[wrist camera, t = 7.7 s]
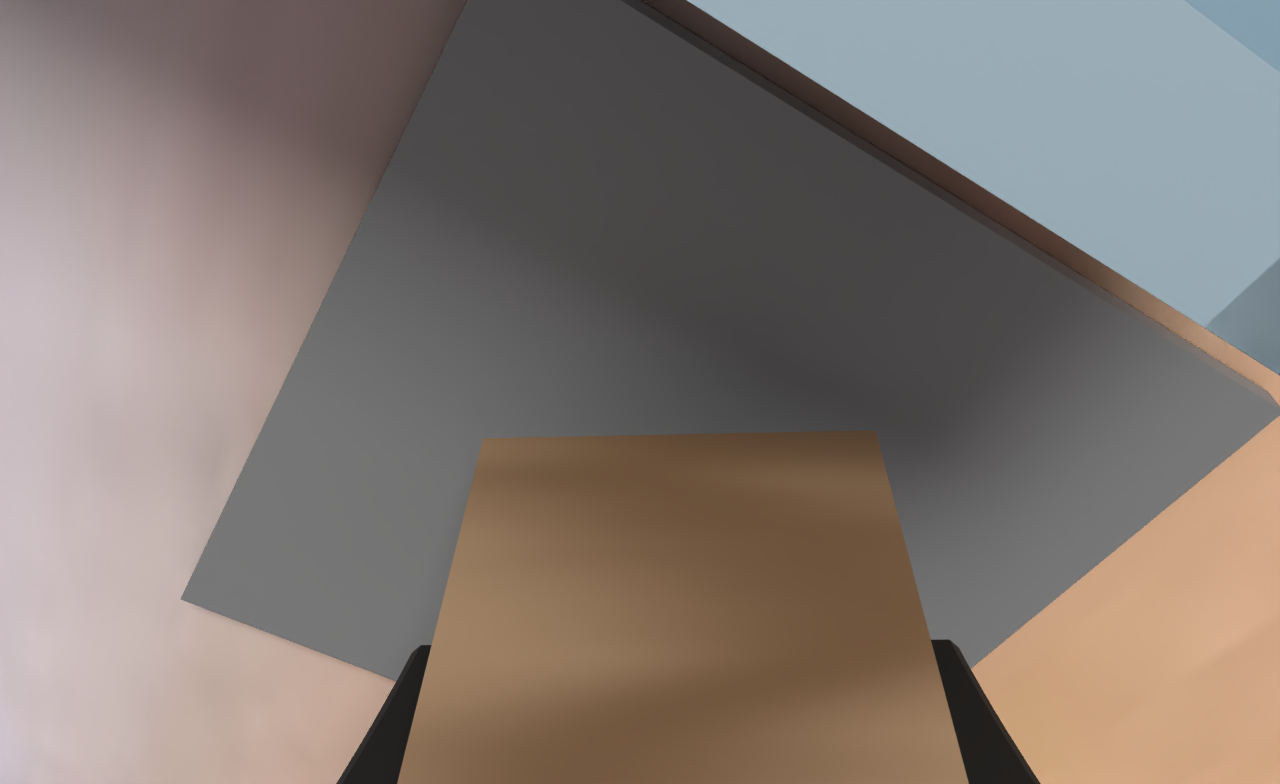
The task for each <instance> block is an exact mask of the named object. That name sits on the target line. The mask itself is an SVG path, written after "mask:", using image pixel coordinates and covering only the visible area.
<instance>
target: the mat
mask: <svg viewBox="0 0 1280 784" xmlns="http://www.w3.org/2000/svg"><path fill="white" fill-rule="evenodd" d="M1279 415H1280V406H1279V405H1278V403H1277V402H1276V401H1275V400H1274V398H1273V397H1272V396H1271V395H1270V394H1269V392H1268V391H1266V390H1265V389H1263V388H1262V387H1260V386H1258V385H1257V384H1255V383H1254V382H1252V381H1250V380H1249V379H1247V378H1246V377H1244V376H1242V375H1241V374H1239V373H1237V372H1236V371H1234V370H1233V369H1231V368H1229V367H1228V366H1226V365H1225V364H1223V363H1221V362H1220V361H1218V360H1217V359H1215V358H1213V357H1212V356H1210V355H1209V354H1207V353H1205V352H1204V351H1202V350H1201V349H1199V348H1197V347H1196V346H1194V345H1193V344H1191V343H1189V342H1188V341H1186V340H1185V339H1183V338H1181V337H1180V336H1178V335H1177V334H1175V333H1173V332H1172V331H1170V330H1169V329H1167V328H1165V327H1164V326H1162V325H1160V324H1159V323H1157V322H1156V321H1154V320H1152V319H1151V318H1149V317H1148V316H1146V315H1144V314H1143V313H1141V312H1140V311H1138V310H1136V309H1135V308H1133V307H1132V306H1130V305H1128V304H1127V303H1125V302H1124V301H1122V300H1120V299H1119V298H1117V297H1116V296H1114V295H1112V294H1111V293H1109V292H1108V291H1106V290H1104V289H1103V288H1101V287H1100V286H1098V285H1096V284H1095V283H1093V282H1091V281H1090V280H1088V279H1087V278H1085V277H1083V276H1082V275H1080V274H1079V273H1077V272H1075V271H1074V270H1072V269H1071V268H1069V267H1067V266H1066V265H1064V264H1063V263H1061V262H1059V261H1058V260H1056V259H1055V258H1053V257H1051V256H1050V255H1048V254H1047V253H1045V252H1043V251H1042V250H1040V249H1039V248H1037V247H1035V246H1034V245H1032V244H1031V243H1029V242H1027V241H1026V240H1024V239H1023V238H1021V237H1019V236H1018V235H1016V234H1014V233H1013V232H1011V231H1010V230H1008V229H1006V228H1005V227H1003V226H1002V225H1000V224H998V223H997V222H995V221H994V220H992V219H990V218H989V217H987V216H986V215H984V214H982V213H981V212H979V211H978V210H976V209H974V208H973V207H971V206H970V205H968V204H966V203H965V202H963V201H962V200H960V199H958V198H957V197H955V196H954V195H952V194H950V193H949V192H947V191H946V190H944V189H942V188H941V187H939V186H937V185H936V184H934V183H933V182H931V181H929V180H928V179H926V178H925V177H923V176H921V175H920V174H918V173H917V172H915V171H913V170H912V169H910V168H909V167H907V166H905V165H904V164H902V163H901V162H899V161H897V160H896V159H894V158H893V157H891V156H889V155H888V154H886V153H885V152H883V151H881V150H880V149H878V148H877V147H875V146H873V145H872V144H870V143H868V142H867V141H865V140H864V139H862V138H860V137H859V136H857V135H856V134H854V133H852V132H851V131H849V130H848V129H846V128H844V127H843V126H841V125H840V124H838V123H836V122H835V121H833V120H832V119H830V118H828V117H827V116H825V115H824V114H822V113H820V112H819V111H817V110H816V109H814V108H812V107H811V106H809V105H808V104H806V103H804V102H803V101H801V100H800V99H798V98H796V97H795V96H793V95H791V94H790V93H788V92H787V91H785V90H783V89H782V88H780V87H779V86H777V85H775V84H774V83H772V82H771V81H769V80H767V79H766V78H764V77H763V76H761V75H759V74H758V73H756V72H755V71H753V70H751V69H750V68H748V67H747V66H745V65H743V64H742V63H740V62H739V61H737V60H735V59H734V58H732V57H731V56H729V55H727V54H726V53H724V52H723V51H721V50H719V49H718V48H716V47H714V46H713V45H711V44H710V43H708V42H706V41H705V40H703V39H702V38H700V37H698V36H697V35H695V34H694V33H692V32H690V31H689V30H687V29H686V28H684V27H682V26H681V25H679V24H678V23H676V22H674V21H673V20H671V19H670V18H668V17H666V16H665V15H663V14H662V13H660V12H658V11H657V10H655V9H654V8H652V7H650V6H649V5H647V4H645V3H644V2H642V1H641V0H467V1H466V4H465V6H464V8H463V10H462V12H461V14H460V16H459V18H458V20H457V22H456V24H455V27H454V29H453V31H452V33H451V35H450V37H449V39H448V41H447V43H446V45H445V47H444V50H443V52H442V54H441V56H440V58H439V60H438V62H437V64H436V66H435V68H434V70H433V73H432V75H431V77H430V79H429V81H428V83H427V85H426V87H425V89H424V91H423V93H422V96H421V98H420V100H419V102H418V104H417V106H416V108H415V110H414V112H413V114H412V116H411V118H410V121H409V123H408V125H407V127H406V129H405V131H404V133H403V135H402V137H401V139H400V141H399V144H398V146H397V148H396V150H395V152H394V154H393V156H392V158H391V160H390V162H389V164H388V167H387V169H386V171H385V173H384V175H383V177H382V179H381V181H380V183H379V185H378V187H377V190H376V192H375V194H374V196H373V198H372V200H371V202H370V204H369V206H368V208H367V210H366V213H365V215H364V217H363V219H362V221H361V223H360V225H359V227H358V229H357V231H356V233H355V236H354V238H353V240H352V242H351V244H350V246H349V248H348V250H347V252H346V254H345V256H344V259H343V261H342V263H341V265H340V267H339V269H338V271H337V273H336V275H335V277H334V279H333V282H332V284H331V286H330V288H329V290H328V292H327V294H326V296H325V298H324V300H323V302H322V304H321V307H320V309H319V311H318V313H317V315H316V317H315V319H314V321H313V323H312V325H311V327H310V330H309V332H308V334H307V336H306V338H305V340H304V342H303V344H302V346H301V348H300V350H299V353H298V355H297V357H296V359H295V361H294V363H293V365H292V367H291V369H290V371H289V373H288V376H287V378H286V380H285V382H284V384H283V386H282V388H281V390H280V392H279V394H278V396H277V399H276V401H275V403H274V405H273V407H272V409H271V411H270V413H269V415H268V417H267V419H266V422H265V424H264V426H263V428H262V430H261V432H260V434H259V436H258V438H257V440H256V442H255V445H254V447H253V449H252V451H251V453H250V455H249V457H248V459H247V461H246V463H245V465H244V468H243V470H242V472H241V474H240V476H239V478H238V480H237V482H236V484H235V486H234V488H233V490H232V493H231V495H230V497H229V499H228V501H227V503H226V505H225V507H224V509H223V511H222V513H221V516H220V518H219V520H218V522H217V524H216V526H215V528H214V530H213V532H212V534H211V536H210V539H209V541H208V543H207V545H206V547H205V549H204V551H203V553H202V555H201V557H200V559H199V562H198V564H197V566H196V568H195V570H194V572H193V574H192V576H191V578H190V580H189V582H188V585H187V587H186V589H185V591H184V593H183V595H182V597H181V600H184V601H186V602H189V603H192V604H194V605H197V606H200V607H202V608H205V609H207V610H210V611H213V612H215V613H218V614H221V615H223V616H226V617H229V618H231V619H234V620H236V621H239V622H242V623H244V624H247V625H250V626H252V627H255V628H258V629H260V630H263V631H265V632H268V633H271V634H273V635H276V636H279V637H281V638H284V639H286V640H289V641H292V642H294V643H297V644H300V645H302V646H305V647H308V648H310V649H313V650H315V651H318V652H321V653H323V654H326V655H329V656H331V657H334V658H337V659H339V660H342V661H344V662H347V663H350V664H352V665H355V666H358V667H360V668H363V669H366V670H368V671H371V672H373V673H376V674H379V675H381V676H384V677H387V678H389V679H392V680H395V681H397V679H398V678H399V676H400V674H401V672H402V670H403V668H404V666H405V664H406V663H407V661H408V659H409V657H410V655H411V653H412V652H413V651H414V650H416V649H417V648H418V647H419V646H420V645H432V642H433V638H434V634H435V630H436V626H437V621H438V617H439V613H440V609H441V605H442V601H443V597H444V593H445V589H446V585H447V581H448V577H449V573H450V569H451V565H452V561H453V557H454V553H455V549H456V545H457V541H458V537H459V533H460V529H461V525H462V521H463V517H464V513H465V509H466V505H467V501H468V497H469V493H470V489H471V485H472V481H473V477H474V473H475V468H476V464H477V460H478V456H479V452H480V448H481V444H482V440H483V438H525V437H573V436H621V435H670V434H718V433H766V432H815V431H863V430H876V434H877V438H878V442H879V445H880V449H881V453H882V457H883V461H884V464H885V468H886V472H887V476H888V479H889V483H890V487H891V491H892V495H893V498H894V502H895V506H896V510H897V514H898V517H899V521H900V525H901V529H902V533H903V536H904V540H905V544H906V548H907V551H908V555H909V559H910V563H911V567H912V570H913V574H914V578H915V582H916V586H917V589H918V593H919V597H920V601H921V605H922V608H923V612H924V616H925V620H926V623H927V627H928V631H929V635H930V639H931V640H945V639H950V640H951V641H952V642H953V643H954V644H955V645H957V646H958V647H959V649H960V650H961V652H962V654H963V656H964V658H965V660H966V662H967V663H968V665H969V667H970V669H971V668H972V667H973V666H975V665H976V664H977V663H978V662H979V661H981V660H982V659H983V658H984V657H986V656H987V655H988V654H989V653H990V652H992V651H993V650H994V649H995V648H997V647H998V646H999V645H1000V644H1001V643H1003V642H1004V641H1005V640H1006V639H1007V638H1009V637H1010V636H1011V635H1012V634H1014V633H1015V632H1016V631H1017V630H1018V629H1020V628H1021V627H1022V626H1023V625H1025V624H1026V623H1027V622H1028V621H1029V620H1031V619H1032V618H1033V617H1034V616H1036V615H1037V614H1038V613H1039V612H1040V611H1042V610H1043V609H1044V608H1045V607H1047V606H1048V605H1049V604H1050V603H1051V602H1053V601H1054V600H1055V599H1056V598H1057V597H1059V596H1060V595H1061V594H1062V593H1064V592H1065V591H1066V590H1067V589H1068V588H1070V587H1071V586H1072V585H1073V584H1075V583H1076V582H1077V581H1078V580H1079V579H1081V578H1082V577H1083V576H1084V575H1086V574H1087V573H1088V572H1089V571H1090V570H1092V569H1093V568H1094V567H1095V566H1097V565H1098V564H1099V563H1100V562H1101V561H1103V560H1104V559H1105V558H1106V557H1107V556H1109V555H1110V554H1111V553H1112V552H1114V551H1115V550H1116V549H1117V548H1118V547H1120V546H1121V545H1122V544H1123V543H1125V542H1126V541H1127V540H1128V539H1129V538H1131V537H1132V536H1133V535H1134V534H1136V533H1137V532H1138V531H1139V530H1140V529H1142V528H1143V527H1144V526H1145V525H1147V524H1148V523H1149V522H1150V521H1151V520H1153V519H1154V518H1155V517H1156V516H1157V515H1159V514H1160V513H1161V512H1162V511H1164V510H1165V509H1166V508H1167V507H1168V506H1170V505H1171V504H1172V503H1173V502H1175V501H1176V500H1177V499H1178V498H1179V497H1181V496H1182V495H1183V494H1184V493H1186V492H1187V491H1188V490H1189V489H1190V488H1192V487H1193V486H1194V485H1195V484H1197V483H1198V482H1199V481H1200V480H1201V479H1203V478H1204V477H1205V476H1206V475H1207V474H1209V473H1210V472H1211V471H1212V470H1214V469H1215V468H1216V467H1217V466H1218V465H1220V464H1221V463H1222V462H1223V461H1225V460H1226V459H1227V458H1228V457H1229V456H1231V455H1232V454H1233V453H1234V452H1236V451H1237V450H1238V449H1239V448H1240V447H1242V446H1243V445H1244V444H1245V443H1246V442H1248V441H1249V440H1250V439H1251V438H1253V437H1254V436H1255V435H1256V434H1257V433H1259V432H1260V431H1261V430H1262V429H1264V428H1265V427H1266V426H1267V425H1268V424H1270V423H1271V422H1272V421H1273V420H1275V419H1276V418H1277V417H1278V416H1279Z"/></svg>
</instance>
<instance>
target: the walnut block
mask: <svg viewBox="0 0 1280 784" xmlns="http://www.w3.org/2000/svg"><path fill="white" fill-rule="evenodd" d="M397 784H969V783H968V779H967V775H966V771H965V767H964V764H963V760H962V756H961V752H960V748H959V745H958V741H957V737H956V733H955V730H954V726H953V722H952V718H951V714H950V711H949V707H948V703H947V699H946V695H945V692H944V688H943V684H942V680H941V676H940V673H939V669H938V665H937V661H936V658H935V654H934V650H933V646H932V642H931V639H930V635H929V631H928V627H927V623H926V620H925V616H924V612H923V608H922V605H921V601H920V597H919V593H918V589H917V586H916V582H915V578H914V574H913V570H912V567H911V563H910V559H909V555H908V551H907V548H906V544H905V540H904V536H903V533H902V529H901V525H900V521H899V517H898V514H897V510H896V506H895V502H894V498H893V495H892V491H891V487H890V483H889V479H888V476H887V472H886V468H885V464H884V461H883V457H882V453H881V449H880V445H879V442H878V438H877V434H876V430H863V431H815V432H766V433H718V434H670V435H621V436H573V437H525V438H483V440H482V444H481V448H480V452H479V456H478V460H477V464H476V468H475V473H474V477H473V481H472V485H471V489H470V493H469V497H468V501H467V505H466V509H465V513H464V517H463V521H462V525H461V529H460V533H459V537H458V541H457V545H456V549H455V553H454V557H453V561H452V565H451V569H450V573H449V577H448V581H447V585H446V589H445V593H444V597H443V601H442V605H441V609H440V613H439V617H438V621H437V626H436V630H435V634H434V638H433V642H432V646H431V650H430V654H429V658H428V662H427V666H426V670H425V674H424V678H423V682H422V686H421V690H420V694H419V698H418V702H417V706H416V710H415V714H414V718H413V722H412V726H411V730H410V734H409V738H408V742H407V746H406V750H405V754H404V758H403V762H402V766H401V770H400V774H399V779H398V783H397Z"/></svg>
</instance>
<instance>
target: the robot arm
mask: <svg viewBox="0 0 1280 784" xmlns="http://www.w3.org/2000/svg"><path fill="white" fill-rule="evenodd" d="M931 642H932V646H933V650H934V654H935V658H936V661H937V665H938V669H939V673H940V676H941V680H942V684H943V688H944V692H945V695H946V699H947V703H948V707H949V711H950V714H951V718H952V722H953V726H954V730H955V733H956V737H957V741H958V745H959V748H960V752H961V756H962V760H963V764H964V767H965V771H966V775H967V779H968V783H969V784H1040V782H1039V781H1038V779H1037V778H1036V776H1035V775H1034V773H1033V772H1032V770H1031V768H1030V767H1029V765H1028V764H1027V762H1026V761H1025V759H1024V757H1023V756H1022V754H1021V753H1020V751H1019V749H1018V748H1017V746H1016V745H1015V743H1014V741H1013V740H1012V738H1011V737H1010V735H1009V734H1008V732H1007V730H1006V729H1005V727H1004V725H1003V724H1002V722H1001V720H1000V719H999V717H998V715H997V714H996V712H995V711H994V709H993V707H992V705H991V704H990V702H989V700H988V699H987V697H986V695H985V694H984V692H983V690H982V688H981V687H980V685H979V683H978V681H977V680H976V678H975V676H974V674H973V672H972V671H971V669H970V667H969V665H968V663H967V662H966V660H965V658H964V656H963V654H962V652H961V650H960V649H959V647H958V646H957V645H955V644H954V643H953V642H952V641H951V640H950V639H945V640H931ZM431 646H432V645H420V646H419V647H418V648H417V649H416V650H414V651H413V652H412V653H411V655H410V657H409V659H408V661H407V663H406V664H405V666H404V668H403V670H402V672H401V674H400V676H399V678H398V679H397V681H396V683H395V685H394V687H393V689H392V690H391V692H390V694H389V696H388V698H387V699H386V701H385V703H384V705H383V706H382V708H381V710H380V712H379V714H378V715H377V717H376V719H375V720H374V722H373V724H372V726H371V727H370V729H369V731H368V732H367V734H366V736H365V738H364V739H363V741H362V743H361V744H360V746H359V748H358V749H357V751H356V752H355V754H354V756H353V757H352V759H351V761H350V762H349V764H348V766H347V767H346V769H345V771H344V772H343V774H342V776H341V777H340V779H339V780H338V782H337V783H336V784H397V783H398V779H399V774H400V770H401V766H402V762H403V758H404V754H405V750H406V746H407V742H408V738H409V734H410V730H411V726H412V722H413V718H414V714H415V710H416V706H417V702H418V698H419V694H420V690H421V686H422V682H423V678H424V674H425V670H426V666H427V662H428V658H429V654H430V650H431Z"/></svg>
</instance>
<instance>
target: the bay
mask: <svg viewBox="0 0 1280 784" xmlns="http://www.w3.org/2000/svg"><path fill="white" fill-rule="evenodd" d="M687 1H688V2H690V3H692V4H693V5H695V6H696V7H698V8H700V9H701V10H703V11H704V12H706V13H707V14H709V15H711V16H712V17H714V18H715V19H717V20H719V21H720V22H722V23H723V24H725V25H726V26H728V27H730V28H731V29H733V30H734V31H736V32H737V33H739V34H741V35H742V36H744V37H745V38H747V39H749V40H750V41H752V42H753V43H755V44H756V45H758V46H760V47H761V48H763V49H764V50H766V51H768V52H769V53H771V54H772V55H774V56H775V57H777V58H779V59H780V60H782V61H783V62H785V63H786V64H788V65H790V66H791V67H793V68H794V69H796V70H798V71H799V72H801V73H802V74H804V75H805V76H807V77H809V78H810V79H812V80H813V81H815V82H817V83H818V84H820V85H821V86H823V87H824V88H826V89H828V90H829V91H831V92H832V93H834V94H836V95H837V96H839V97H840V98H842V99H843V100H845V101H847V102H848V103H850V104H851V105H853V106H854V107H856V108H858V109H859V110H861V111H862V112H864V113H866V114H867V115H869V116H870V117H872V118H873V119H875V120H877V121H878V122H880V123H881V124H883V125H885V126H886V127H888V128H889V129H891V130H892V131H894V132H896V133H897V134H899V135H900V136H902V137H903V138H905V139H907V140H908V141H910V142H911V143H913V144H915V145H916V146H918V147H919V148H921V149H922V150H924V151H926V152H927V153H929V154H930V155H932V156H934V157H935V158H937V159H938V160H940V161H941V162H943V163H945V164H946V165H948V166H949V167H951V168H952V169H954V170H956V171H957V172H959V173H960V174H962V175H964V176H965V177H967V178H968V179H970V180H971V181H973V182H975V183H976V184H978V185H979V186H981V187H983V188H984V189H986V190H987V191H989V192H990V193H992V194H994V195H995V196H997V197H998V198H1000V199H1002V200H1003V201H1005V202H1006V203H1008V204H1009V205H1011V206H1013V207H1014V208H1016V209H1017V210H1019V211H1020V212H1022V213H1024V214H1025V215H1027V216H1028V217H1030V218H1032V219H1033V220H1035V221H1036V222H1038V223H1039V224H1041V225H1043V226H1044V227H1046V228H1047V229H1049V230H1051V231H1052V232H1054V233H1055V234H1057V235H1058V236H1060V237H1062V238H1063V239H1065V240H1066V241H1068V242H1069V243H1071V244H1073V245H1074V246H1076V247H1077V248H1079V249H1081V250H1082V251H1084V252H1085V253H1087V254H1088V255H1090V256H1092V257H1093V258H1095V259H1096V260H1098V261H1100V262H1101V263H1103V264H1104V265H1106V266H1107V267H1109V268H1111V269H1112V270H1114V271H1115V272H1117V273H1118V274H1120V275H1122V276H1123V277H1125V278H1126V279H1128V280H1130V281H1131V282H1133V283H1134V284H1136V285H1137V286H1139V287H1141V288H1142V289H1144V290H1145V291H1147V292H1149V293H1150V294H1152V295H1153V296H1155V297H1156V298H1158V299H1160V300H1161V301H1163V302H1164V303H1166V304H1168V305H1169V306H1171V307H1172V308H1174V309H1175V310H1177V311H1179V312H1180V313H1182V314H1183V315H1185V316H1186V317H1188V318H1190V319H1191V320H1193V321H1194V322H1196V323H1198V324H1199V325H1201V326H1202V327H1204V328H1205V329H1207V330H1209V331H1210V332H1212V333H1213V334H1215V335H1217V336H1218V337H1220V338H1221V339H1223V340H1224V341H1226V342H1228V343H1229V344H1231V345H1232V346H1234V347H1235V348H1237V349H1239V350H1240V351H1242V352H1243V353H1245V354H1247V355H1248V356H1250V357H1251V358H1253V359H1254V360H1256V361H1258V362H1259V363H1261V364H1262V365H1264V366H1266V367H1267V368H1269V369H1270V370H1272V371H1273V372H1275V373H1277V374H1278V375H1280V0H687Z"/></svg>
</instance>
